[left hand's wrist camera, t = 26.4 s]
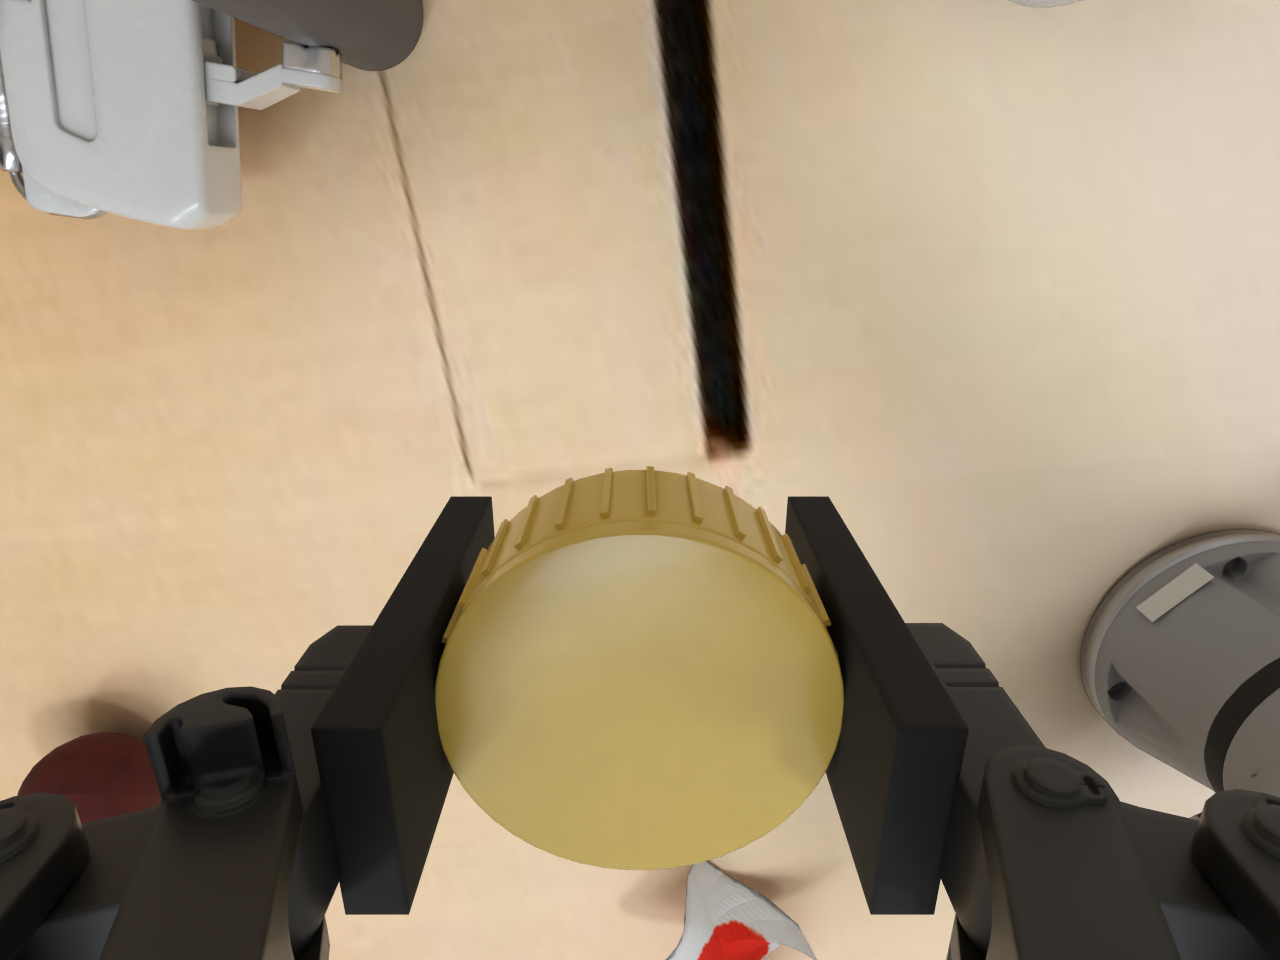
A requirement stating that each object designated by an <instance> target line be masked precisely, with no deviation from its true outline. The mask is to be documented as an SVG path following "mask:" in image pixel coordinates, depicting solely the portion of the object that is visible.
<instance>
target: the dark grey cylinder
mask: <svg viewBox="0 0 1280 960" xmlns="http://www.w3.org/2000/svg"><path fill="white" fill-rule="evenodd" d="M192 1H194V2H196V3H199V4H201V5H204V6H206V7H209V8H211V9H214V10H216V11H218V12H221V13H223V14H226V15H228V16H231V17H233V18H236V19H238V20H241V21H243V22H245V23H248V24H250V25H253V26H255V27H258V28H260V29H263V30H265V31H267V32H270V33H272V34H275V35H277V36H280V37H282V38H285V39H287V40H289V41H292V42H295V43H298V44H302V45H304V46H307V47H309V46H320V47H325V48H329V49H333V50H335V52H340V53H342V62H343V63H346V64H348V65H351V66H353V67H356V68H359V69H362V70H368V71H381V70H385V69H389V68H392V67H394V66H396V65H398V64H399V63H401V62H402V61H403V60H404V59H406V58H407V57H408V55H409V54H410V53H411V52H412V50H413V49H414V47H415V45H416V44H417V42H418V39H419V36H420V33H421V29H422V22H423V7H422V0H192Z"/></svg>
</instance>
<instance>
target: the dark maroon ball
mask: <svg viewBox="0 0 1280 960" xmlns="http://www.w3.org/2000/svg"><path fill="white" fill-rule="evenodd" d="M40 792H43V793H51V794H59V795H63V796H65V797H66V798H67V799H68V800H70V801H71V802H72V803H74V804H75V807H76V810H77V813H78V816H79V819H80V822H81V824H83V823H87V822H91V821H96V820H100V819H105V818H109V817H113V816H118V815H122V814H127V813H131V812H135V811H140V810H143V809H147V808H150V807H154V806H157V805H160V802H161V796H160V793H159V789H158V786H157V782H156V779H155V775H154V772H153V768H152V765H151V761H150V758H149V754H148V751H147V747H146V744H145V741H143V740H141V739H138V738H135V737H132V736H128V735H123V734H118V733H113V732H103V733H95V734H89V735H84V736H80V737H78V738H76V739H74V740H72V741H70V742H67V743H65V744H63V745H61V746H59V747H57V748H55V749H54V750H53V751H51V752H50V753H49V754H48V755H46V756H45V757H44V758H43V759H41V760H40V761H39V762H38V763H37V764H36V765H35V766H34V767H33V768H32V770H31V771H30V773H29V774H28V775H27V777H26V778H25V780H24V781H23V783H22V785H21V787H20V789H19V791H18V796H21V795H27V794H34V793H40Z"/></svg>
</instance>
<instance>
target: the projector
mask: <svg viewBox="0 0 1280 960" xmlns="http://www.w3.org/2000/svg"><path fill="white" fill-rule="evenodd" d="M1009 1H1011V2H1013V3H1016V4H1019V5H1021V6H1027V7H1034V8H1049V7H1055V6H1062V5H1067V4H1070V3H1074V2H1078V1H1082V0H1009Z"/></svg>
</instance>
